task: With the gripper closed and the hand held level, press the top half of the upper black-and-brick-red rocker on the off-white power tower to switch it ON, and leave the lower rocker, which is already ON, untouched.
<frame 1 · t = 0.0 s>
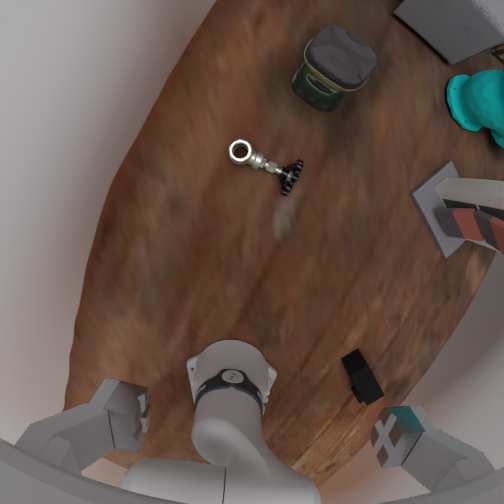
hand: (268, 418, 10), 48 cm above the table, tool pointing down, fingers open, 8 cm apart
vintage electronic device: (439, 5, 45), on the table
valve 2: (261, 163, 54), on the table
valve: (491, 125, 52), on the table
power tower: (443, 212, 56), on the table
coffee jar: (318, 87, 51), on the table
digital camera: (355, 369, 64), on the table
upper rocker: (497, 234, 37), point 19 cm above the table, hinge at 10.0°
lower rocker: (460, 223, 48), point 8 cm above the table, hinge at -10.0°
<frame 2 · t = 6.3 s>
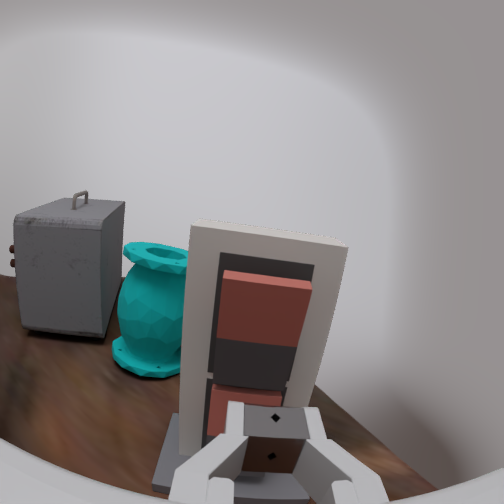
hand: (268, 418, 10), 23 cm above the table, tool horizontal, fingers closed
vintage electronic device: (75, 307, 61), on the table
valve: (198, 354, 54), on the table
power tower: (231, 469, 29), on the table
upper rocker: (257, 337, 23), point 19 cm above the table, hinge at 10.0°
lower rocker: (239, 435, 26), point 8 cm above the table, hinge at -10.0°
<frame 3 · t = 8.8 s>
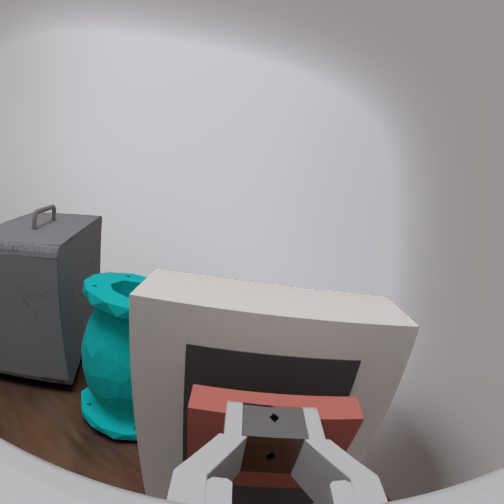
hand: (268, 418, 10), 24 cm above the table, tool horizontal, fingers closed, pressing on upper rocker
vintage electronic device: (46, 340, 49), on the table
valve: (184, 404, 42), on the table
upper rocker: (257, 476, 11), point 19 cm above the table, hinge at 6.3°, touching gripper
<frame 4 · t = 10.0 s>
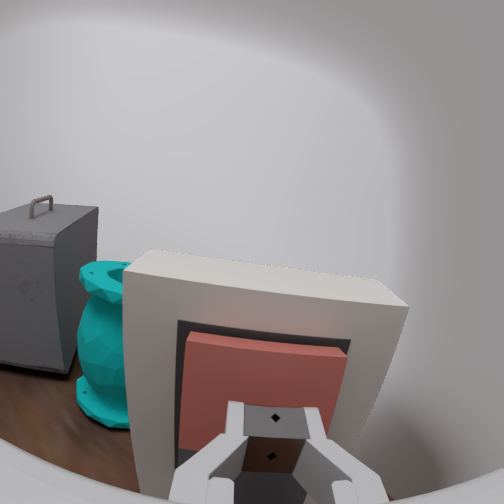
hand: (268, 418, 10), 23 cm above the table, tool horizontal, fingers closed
vintage electronic device: (42, 330, 49), on the table
valve: (179, 393, 43), on the table
upper rocker: (249, 448, 12), point 20 cm above the table, hinge at -10.7°
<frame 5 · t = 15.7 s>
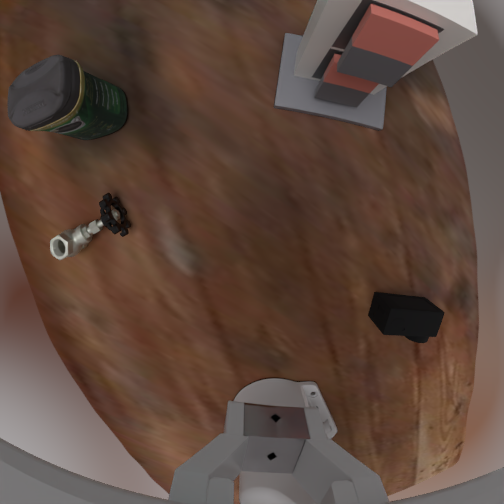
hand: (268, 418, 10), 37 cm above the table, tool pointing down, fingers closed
valve 2: (97, 227, 46), on the table
power tower: (332, 87, 41), on the table
coffee jar: (101, 113, 41), on the table
digital camera: (395, 309, 49), on the table
upper rocker: (383, 50, 22), point 20 cm above the table, hinge at -11.5°
lower rocker: (347, 83, 33), point 8 cm above the table, hinge at -10.0°
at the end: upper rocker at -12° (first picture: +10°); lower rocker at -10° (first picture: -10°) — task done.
